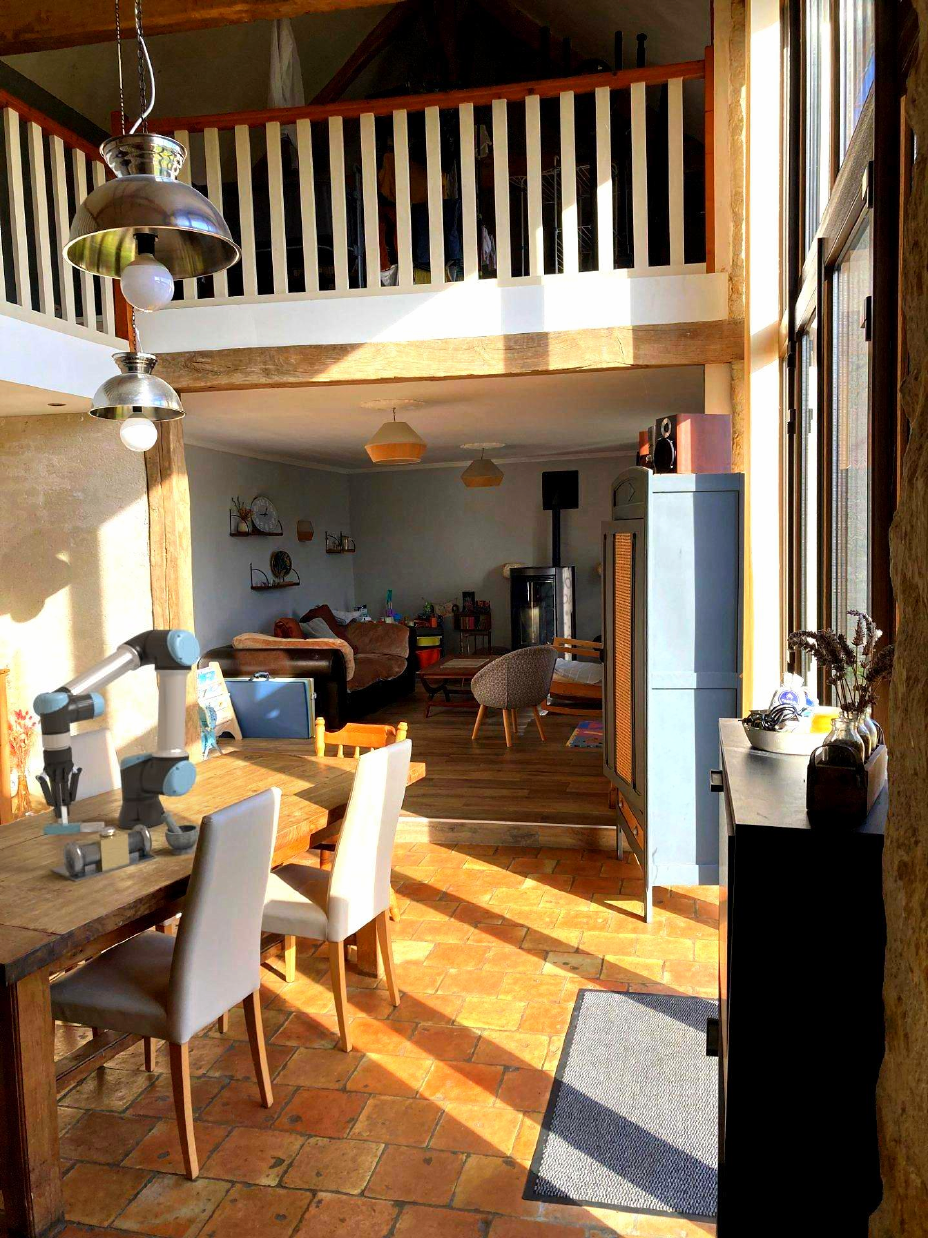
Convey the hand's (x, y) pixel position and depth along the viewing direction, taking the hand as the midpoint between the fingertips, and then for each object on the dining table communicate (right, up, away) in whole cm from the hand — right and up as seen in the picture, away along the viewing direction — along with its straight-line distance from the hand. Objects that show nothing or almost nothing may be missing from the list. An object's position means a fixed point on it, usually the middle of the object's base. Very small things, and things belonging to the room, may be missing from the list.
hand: (63, 828), depth 265 cm
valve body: (+11, -11, +1) cm, 16 cm away
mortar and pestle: (+31, -10, +11) cm, 34 cm away
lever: (+6, -2, -2) cm, 6 cm away
